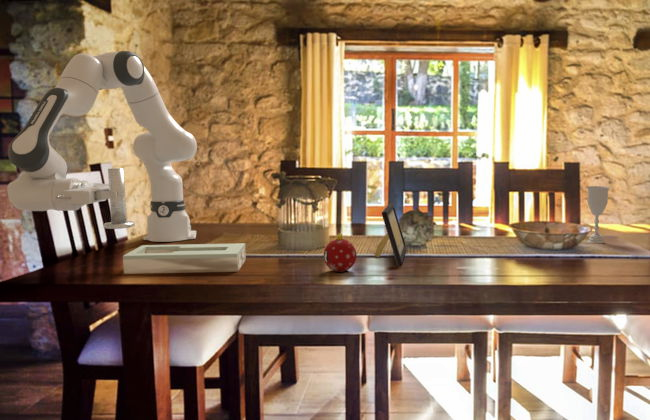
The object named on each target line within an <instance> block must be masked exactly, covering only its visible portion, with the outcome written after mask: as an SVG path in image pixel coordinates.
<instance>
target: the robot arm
mask: <svg viewBox="0 0 650 420" xmlns="http://www.w3.org/2000/svg"><path fill="white" fill-rule="evenodd" d="M141 59H142V58H140V57H139V55H138V54H136V53H135V52H132V51H129V50H120V51H111V52H104V53H102V54H97V55H92V54H87V53H78V54H75V55H73V56H72V58H71V59H70V60H69V62H68V63H67V64H66V66H65V68H64V70H63V71H62V73H61V75H60V77H59V79H58V81H57V83H56V86H55V87H53V88H51V89H49V90H48V91H47V92H46V93H45V94H43V96H42V98H41V99H40V101H39V103H38V104H37V105H36V108H35V109H34V110H33V112H32V114H31V115H30V117H29V119H28V121H27V122H26V124H25V126H23V129H21V130H20V132H19V133H17V135H16V136H15V137H14V138H13V139H12V140H11V141H10V143H9V145H8V147H7V155H8V156H7V157H8V160H9V162H10V163H11V164H12V165H13V166H15V167H17V169H20V170H21V171H22V173H21V174H19V176H18V177H17V178H16V179H14V180H13V181H11V182H9V183H8V185H7V187H6V193H7V197H8V200H9V203H10V204H11V205H12V206H13V207H15V209H18V210H20V211H28V212H29V211H31V212H45V211H46V212H47V211H49V210H54V211H57V212H60V211H61V212H63V211H64V212H65V211H67V212H68V211H78V210H80V209H81V208H82V207H83V206H85V205H90V204H94V203H98V202H102V201H106V200H108V199H109V200H110V198H117V197H118V192H117V191H109V183H101V182H100V183H98V182H89V180H80V179H78V178H75V177H74V178H73V177H72V178H67V174H68V169H69V168H68V164H67V161H66V160H65V159H64V158H63V156H62V155H60V153H59V152H57V150H55V149H54V147H52V146H51V143H50V135H51V133H52V131H53V129H54V128H55V126H56V124H57V123H58V121H59V120H60V118H61V116H62V115H65V116H71V117H81V116H84V115H86V114H89V112H90V111H91V110H92V109H93V107H94V104H95V103H96V100H97V97H98V95H99V92H100V91H101V90H113V89H114V90H116V89H119V88H120V89H121V90H122V92H123V95H124V98H125V100H126V102H127V104H128V106H129V109H130V112H131V113H132V115H133V117H134V120H135V122H136V123H137V124H138V125H139V126H140V127H142V128H143V129H146V131H147V132H143V133H140V134H139V135H137V136H136V137H135V139H134V140H133V144H132V145H133V153H134V154H135V156H136V157H137V159H139V160H140V161H141V162H142V164H143V165H144V168H145V170H146V172H147V174H148V179H149V182H150V195H151V197H150V198H151V201H150V205H149V206H150V211H151V212H150V214H149V215H148V216H147V217H146V223H147V224H146V235H145V236H143V237H142V238H143V240H144V241H150V242H157V243H158V242H159V243H160V242H161V243H163V242H166V243H167V242H180V241H186V240H194V239H196V237H197V230H192V227H193V226H192V225H191V221H190V217H189V215H188V213H187V211H186V208H187V207H186V200H185V199H184V191H183V190H184V189H183V187H184V186H183V178H182V177H181V175H179V174H178V173H177V172H176V171H175V170H174V168H173V166H172V163H181V162H186V161H188V160H191V159H193V158H194V157H195V156H196V153H197V150H198V143H197V140H196V138H195V136H194V135H193V134H192V133H191V132H189V131H187V130H185V129H184V128H183V127H182V126H181V125H179V123H178V122H177V121H176V120H175V119H174V118H173V116H172V115H171V113H170V112H169V110H168V109H167V106H166V104H165V103H164V100H163V98H162V95H161V93H160V91H159V89H158V86H157V84H156V83H155V81H154V78H153V77H152V75H151V73H150V72H149V70H148V69H147V68H146V66H145V65H144V63H143V60H141Z"/></svg>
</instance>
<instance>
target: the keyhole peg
mask: <svg viewBox="0 0 650 420" xmlns="http://www.w3.org/2000/svg"><path fill="white" fill-rule="evenodd" d="M107 174H108V176H107V177H108V184H109V191H117V192H118V197H117V198H110V199H109V205H110V222H105V223H103V228H104V229H105V230H106V229H109V230H118V229H119V230H120V229H129V228H133V227H135V221H133V220H128V219H127V204H126V203H127V201H126V188H125V187H126V185H125V170H124V167H123V168H121V167H117V168H114V167H113V168H108V169H107Z"/></svg>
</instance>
